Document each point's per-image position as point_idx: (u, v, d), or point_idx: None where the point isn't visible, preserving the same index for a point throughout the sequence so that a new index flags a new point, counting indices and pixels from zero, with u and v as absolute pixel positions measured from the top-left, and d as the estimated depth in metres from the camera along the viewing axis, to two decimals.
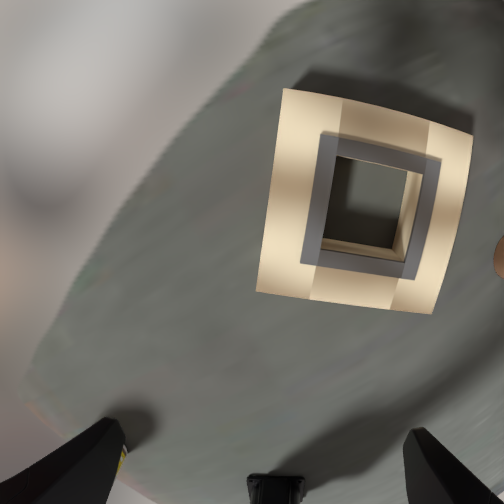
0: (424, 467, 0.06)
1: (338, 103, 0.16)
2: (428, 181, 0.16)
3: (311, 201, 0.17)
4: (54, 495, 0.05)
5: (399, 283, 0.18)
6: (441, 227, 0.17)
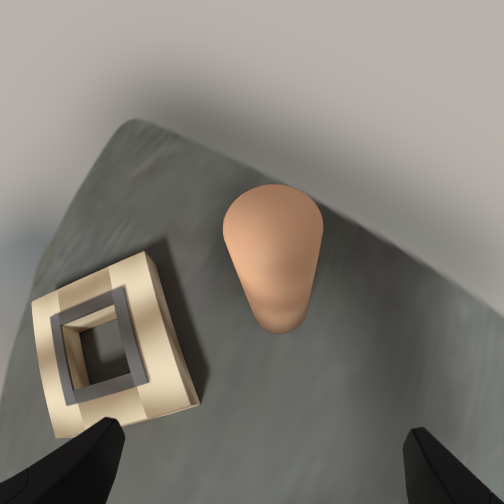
0: (424, 467, 0.06)
1: (56, 294, 0.23)
2: (118, 305, 0.22)
3: (57, 361, 0.20)
4: (54, 495, 0.05)
5: (140, 392, 0.19)
6: (148, 330, 0.21)
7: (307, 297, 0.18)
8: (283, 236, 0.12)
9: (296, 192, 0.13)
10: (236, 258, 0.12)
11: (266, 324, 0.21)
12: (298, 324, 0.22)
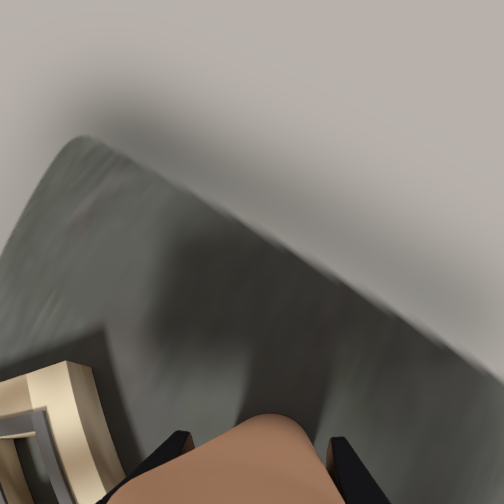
0: (335, 480, 0.06)
1: None
2: (40, 435, 0.12)
3: None
4: None
5: None
6: (81, 478, 0.11)
7: None
8: None
9: (305, 495, 0.03)
10: None
11: None
12: None
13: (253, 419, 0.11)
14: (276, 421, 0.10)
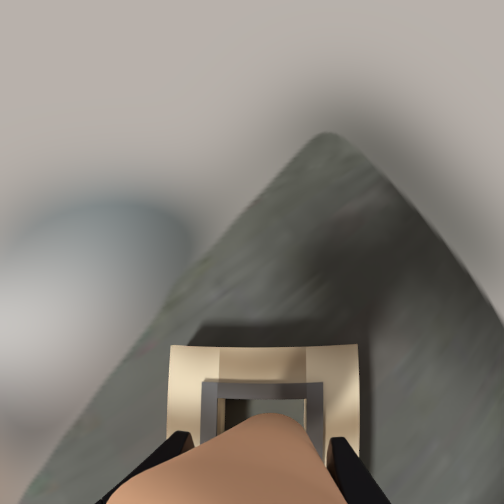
0: (335, 480, 0.06)
1: (216, 352, 0.20)
2: (312, 403, 0.17)
3: (201, 439, 0.17)
4: None
5: None
6: None
7: None
8: None
9: (305, 493, 0.03)
10: None
11: None
12: None
13: (253, 418, 0.11)
14: (276, 420, 0.10)
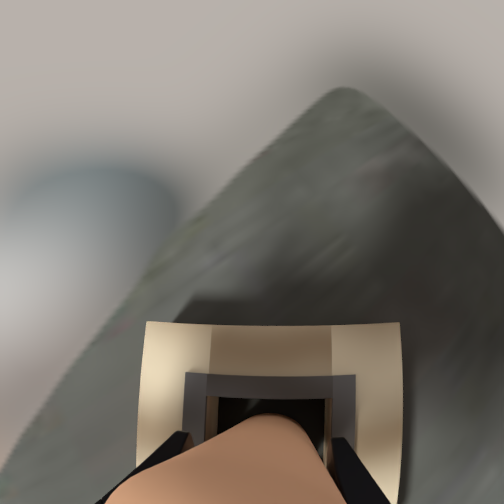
0: (335, 480, 0.06)
1: (206, 332, 0.14)
2: (341, 404, 0.12)
3: None
4: None
5: None
6: (375, 456, 0.11)
7: None
8: None
9: (305, 492, 0.03)
10: None
11: None
12: None
13: (253, 418, 0.11)
14: (276, 420, 0.10)
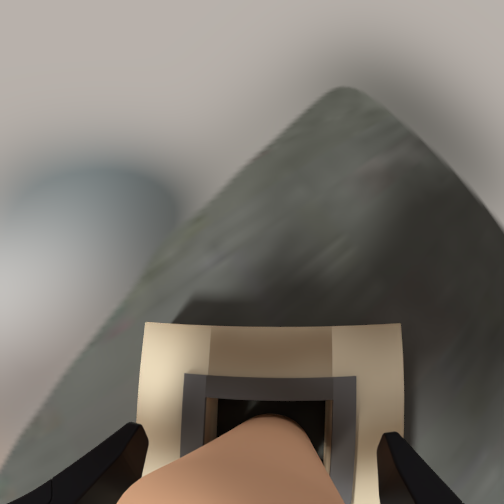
0: (394, 473, 0.06)
1: (206, 333, 0.14)
2: (341, 406, 0.12)
3: (181, 453, 0.12)
4: None
5: None
6: (376, 458, 0.11)
7: None
8: None
9: (304, 489, 0.03)
10: None
11: None
12: None
13: (254, 419, 0.12)
14: (277, 421, 0.11)
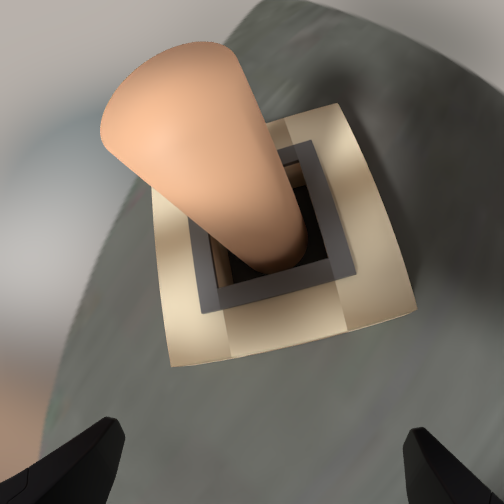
0: (424, 467, 0.06)
1: None
2: (307, 162, 0.16)
3: (192, 244, 0.16)
4: (54, 495, 0.05)
5: (339, 289, 0.14)
6: (355, 199, 0.15)
7: (286, 205, 0.12)
8: (178, 98, 0.07)
9: (194, 45, 0.07)
10: (117, 156, 0.07)
11: (254, 264, 0.15)
12: (300, 253, 0.17)
13: None
14: None
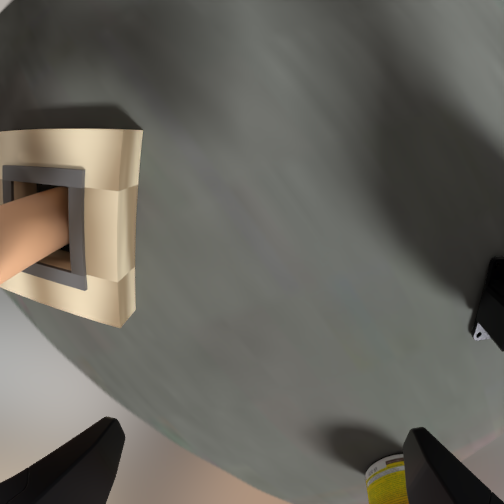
0: (424, 467, 0.06)
1: None
2: (13, 175, 0.16)
3: (44, 277, 0.18)
4: (54, 495, 0.05)
5: (91, 186, 0.16)
6: (43, 149, 0.15)
7: (15, 213, 0.13)
8: None
9: None
10: None
11: (63, 239, 0.17)
12: None
13: None
14: None
